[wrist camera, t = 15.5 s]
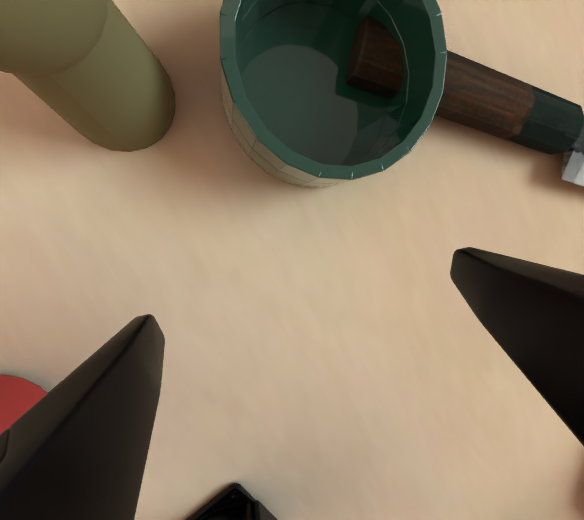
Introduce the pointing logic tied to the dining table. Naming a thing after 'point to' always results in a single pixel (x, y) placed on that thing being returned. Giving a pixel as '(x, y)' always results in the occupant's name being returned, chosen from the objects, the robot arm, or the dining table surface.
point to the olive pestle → (88, 69)
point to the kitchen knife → (477, 98)
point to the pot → (325, 85)
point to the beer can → (16, 399)
